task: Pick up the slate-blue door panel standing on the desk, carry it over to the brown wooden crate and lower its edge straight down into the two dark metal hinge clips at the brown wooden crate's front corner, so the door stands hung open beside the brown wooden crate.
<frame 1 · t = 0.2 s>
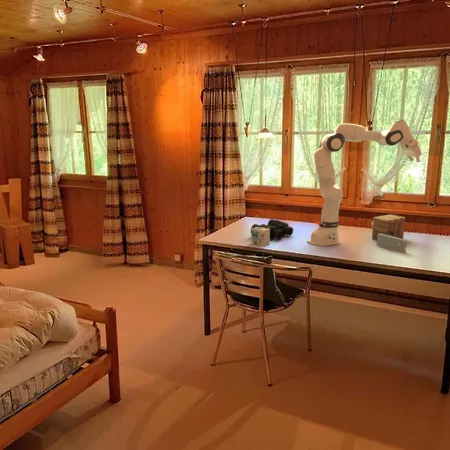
hand: (415, 161, 294), 54 cm above the table, tool tilted 30°, fingers open, 8 cm apart
binoculars: (273, 236, 317), on the table
light bulb box: (260, 244, 296), on the table
hinge: (378, 231, 331), on the table
brown wooden crate: (387, 238, 309), on the table
door: (390, 248, 285), on the table
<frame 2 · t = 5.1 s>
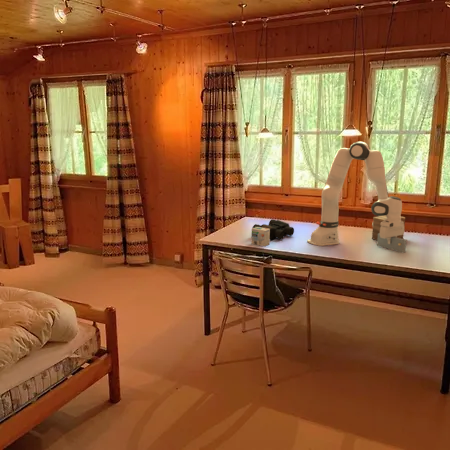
hand: (391, 243, 284), 4 cm above the table, tool pointing down, fingers closed on door, 2 cm apart
door: (390, 248, 285), on the table, touching gripper
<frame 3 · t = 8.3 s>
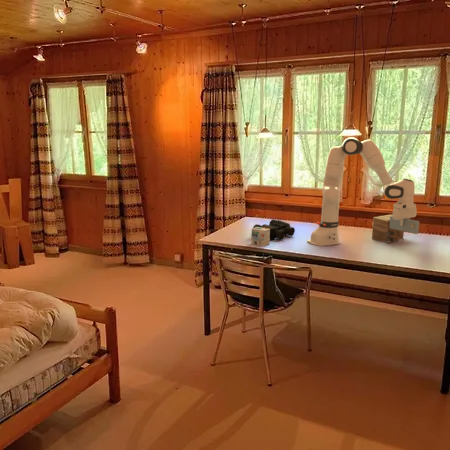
hand: (403, 225, 287), 14 cm above the table, tool pointing down, fingers closed on door, 2 cm apart
door: (403, 230, 288), point 10 cm above the table, touching gripper
when the fingers open (5 cm above the table, at t = 10.9 s): door drops 1 cm, on the table.
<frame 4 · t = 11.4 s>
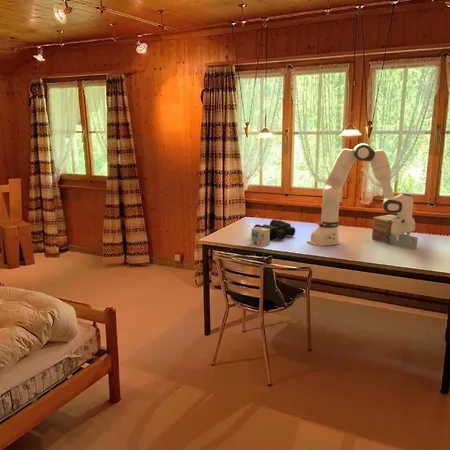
hand: (402, 239, 290), 5 cm above the table, tool pointing down, fingers open, 8 cm apart
door: (401, 246, 291), on the table
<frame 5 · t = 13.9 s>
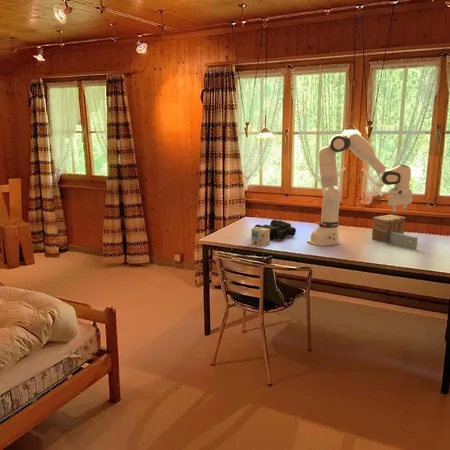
hand: (399, 211, 289), 22 cm above the table, tool pointing down, fingers open, 8 cm apart
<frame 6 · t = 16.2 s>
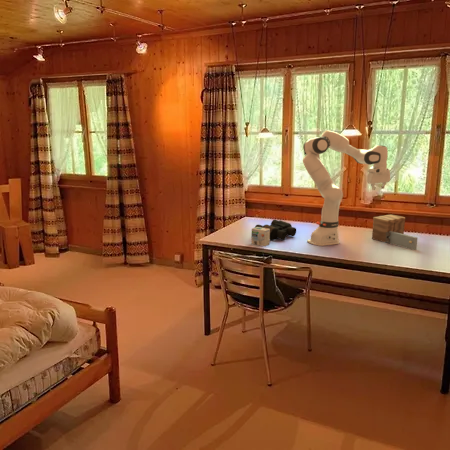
hand: (378, 189, 306), 34 cm above the table, tool pointing down, fingers open, 8 cm apart
at the end: door 0.0 cm from the target spot, on the table; door tilted 0°; the gripper is holding nothing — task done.
